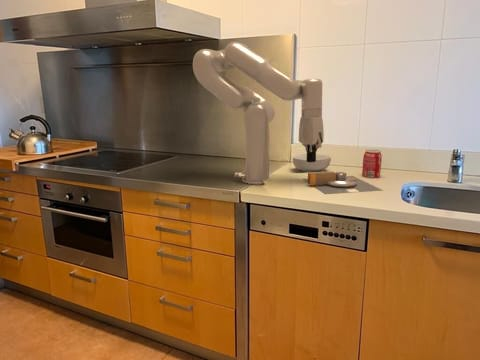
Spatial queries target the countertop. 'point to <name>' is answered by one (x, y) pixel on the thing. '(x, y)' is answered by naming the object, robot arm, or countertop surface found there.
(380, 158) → the soda can
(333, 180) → the dial
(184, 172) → the countertop surface
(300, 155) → the cereal bowl
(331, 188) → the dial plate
